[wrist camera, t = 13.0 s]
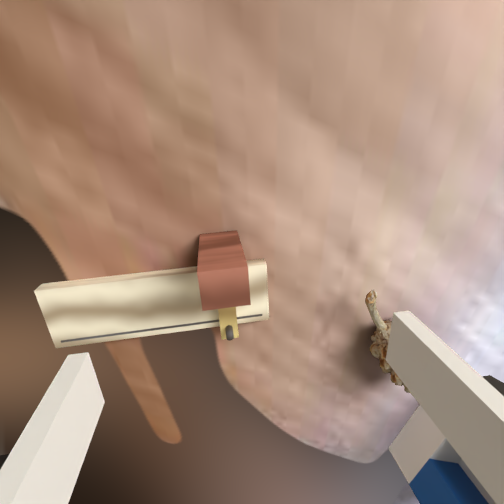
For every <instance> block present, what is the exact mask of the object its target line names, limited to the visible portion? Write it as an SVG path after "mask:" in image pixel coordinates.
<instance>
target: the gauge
mask: <svg viewBox="0 0 504 504" xmlns="http://www.w3.org/2000/svg"><path fill="white" fill-rule="evenodd" d="M197 276H198V283H199V290H200V297H201V304H202V311H207V310H215V309H218V314H219V322H220V330H221V338H222V339H227V340H232V339H233V338H236V337H239V335H238V325H237V315H236V307H238V306H246V305H251V301H250V287H249V274H248V265H247V262H246V259H245V255H244V252H243V249H242V245H241V242H240V239H239V236H238V232H237V231H227V232H218V233H208V234H200V238H199V251H198V265H197Z"/></svg>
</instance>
